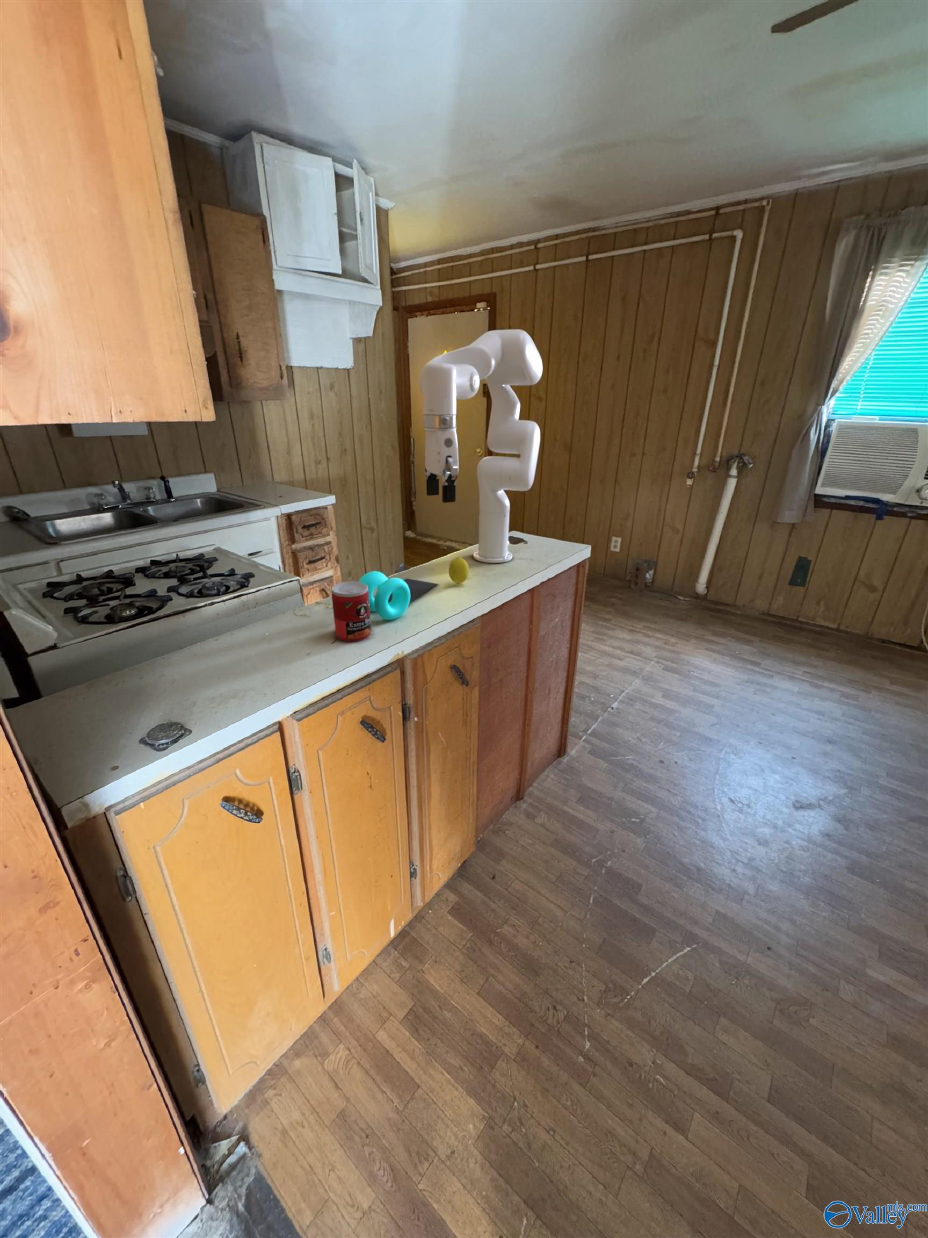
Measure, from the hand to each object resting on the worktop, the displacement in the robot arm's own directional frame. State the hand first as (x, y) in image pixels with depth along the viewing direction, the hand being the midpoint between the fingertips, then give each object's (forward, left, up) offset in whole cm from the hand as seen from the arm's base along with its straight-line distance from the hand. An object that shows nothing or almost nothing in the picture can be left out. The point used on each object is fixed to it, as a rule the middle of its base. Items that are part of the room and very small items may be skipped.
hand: (440, 498), depth 122 cm
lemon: (-9, +1, -26) cm, 27 cm away
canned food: (+30, -6, -26) cm, 40 cm away
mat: (+3, -9, -25) cm, 27 cm away
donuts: (+18, -6, -25) cm, 32 cm away
